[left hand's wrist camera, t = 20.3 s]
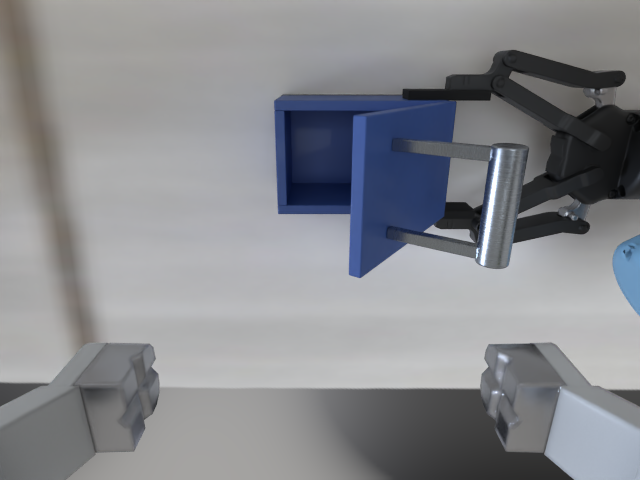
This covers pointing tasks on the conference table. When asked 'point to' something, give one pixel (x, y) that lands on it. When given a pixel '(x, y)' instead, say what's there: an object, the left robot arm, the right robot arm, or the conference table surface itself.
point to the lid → (425, 187)
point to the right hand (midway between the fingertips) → (401, 155)
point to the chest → (321, 148)
